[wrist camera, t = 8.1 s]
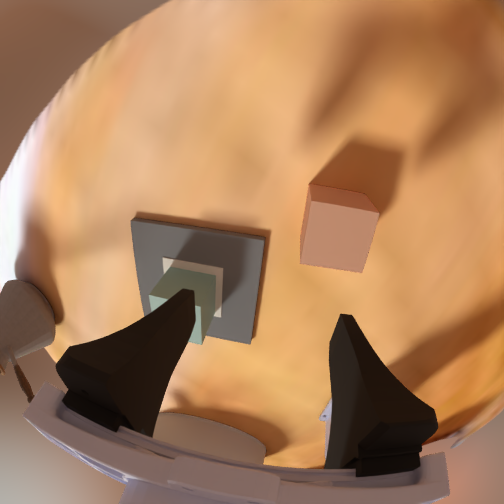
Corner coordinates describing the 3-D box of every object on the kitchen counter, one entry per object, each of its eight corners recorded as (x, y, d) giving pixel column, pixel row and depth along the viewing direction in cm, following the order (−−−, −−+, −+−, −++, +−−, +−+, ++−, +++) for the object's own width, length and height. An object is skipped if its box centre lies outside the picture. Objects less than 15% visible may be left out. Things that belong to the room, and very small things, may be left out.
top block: (352, 244, 20) (362, 273, 16) (300, 235, 20) (299, 263, 17) (364, 193, 18) (379, 213, 14) (308, 183, 18) (311, 200, 15)
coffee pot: (34, 324, 35) (-13, 381, 22) (7, 267, 30) (-52, 323, 17) (124, 354, 32) (72, 444, 18) (93, 282, 26) (8, 380, 13)
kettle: (121, 411, 43) (80, 498, 24) (186, 394, 34) (133, 534, 14) (211, 462, 50) (188, 539, 30) (290, 454, 40) (274, 557, 21)
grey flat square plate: (251, 340, 26) (250, 345, 25) (147, 316, 27) (144, 320, 26) (265, 237, 20) (264, 241, 20) (134, 217, 21) (129, 221, 21)
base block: (215, 312, 24) (201, 344, 20) (173, 303, 24) (155, 333, 21) (216, 275, 22) (200, 306, 18) (170, 266, 22) (148, 294, 19)
